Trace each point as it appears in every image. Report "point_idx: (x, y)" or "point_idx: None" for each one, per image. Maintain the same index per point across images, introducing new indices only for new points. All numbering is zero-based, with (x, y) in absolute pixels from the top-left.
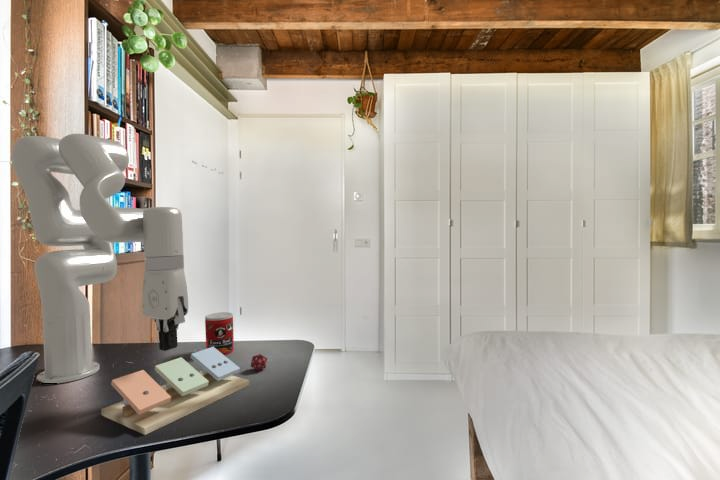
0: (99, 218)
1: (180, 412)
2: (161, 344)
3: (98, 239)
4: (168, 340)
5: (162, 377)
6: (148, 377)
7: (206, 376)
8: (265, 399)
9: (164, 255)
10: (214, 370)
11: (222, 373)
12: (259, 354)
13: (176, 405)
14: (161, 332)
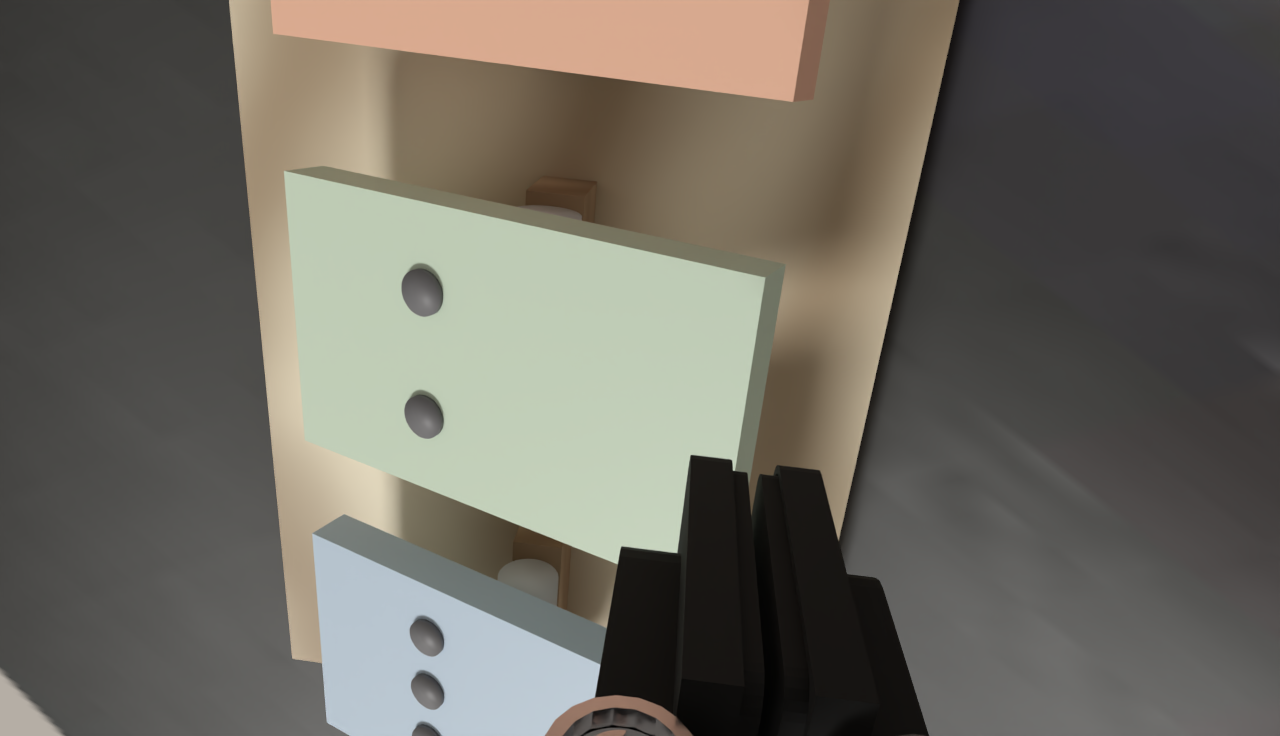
0: None
1: (235, 39)
2: (766, 517)
3: None
4: (618, 601)
5: (619, 229)
6: (621, 48)
7: (513, 552)
8: (22, 496)
9: None
10: (389, 591)
11: (335, 592)
12: None
13: (377, 115)
14: (747, 687)
